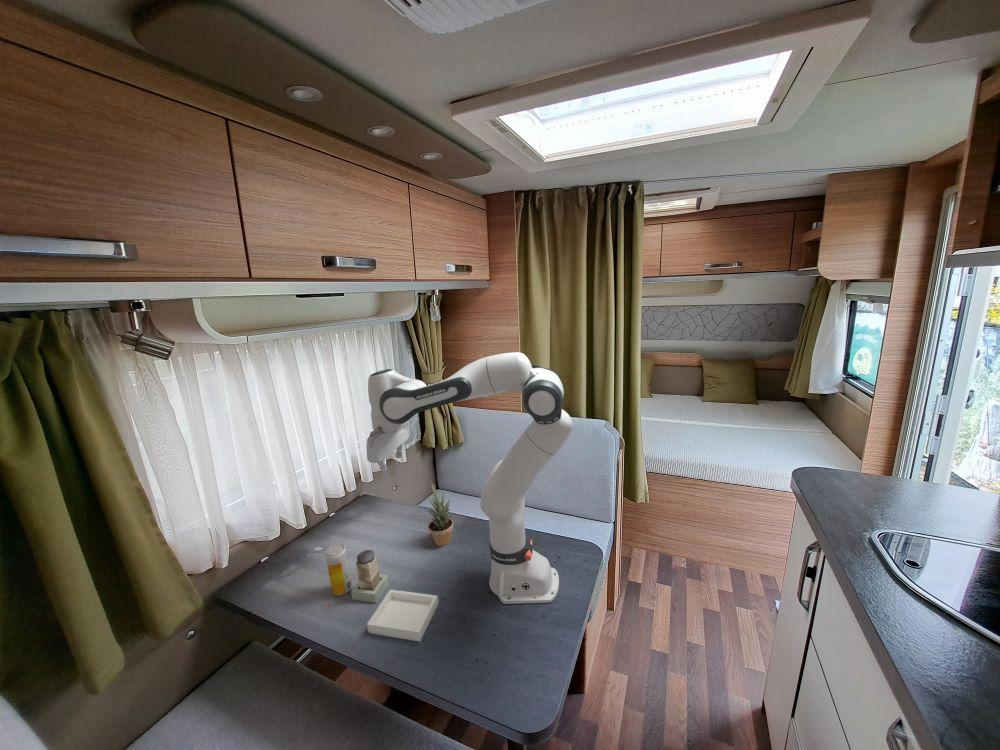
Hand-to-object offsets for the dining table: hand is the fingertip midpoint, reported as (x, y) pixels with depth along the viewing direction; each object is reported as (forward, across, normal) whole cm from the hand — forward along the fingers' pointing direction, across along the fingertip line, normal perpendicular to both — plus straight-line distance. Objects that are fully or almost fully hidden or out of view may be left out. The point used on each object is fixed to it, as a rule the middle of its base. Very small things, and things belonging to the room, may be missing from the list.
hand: (392, 463), depth 120 cm
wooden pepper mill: (+42, -8, +8) cm, 43 cm away
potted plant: (+41, +20, -5) cm, 46 cm away
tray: (+41, -16, -8) cm, 45 cm away
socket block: (+41, -8, +8) cm, 43 cm away
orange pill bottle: (+42, -9, +18) cm, 47 cm away
